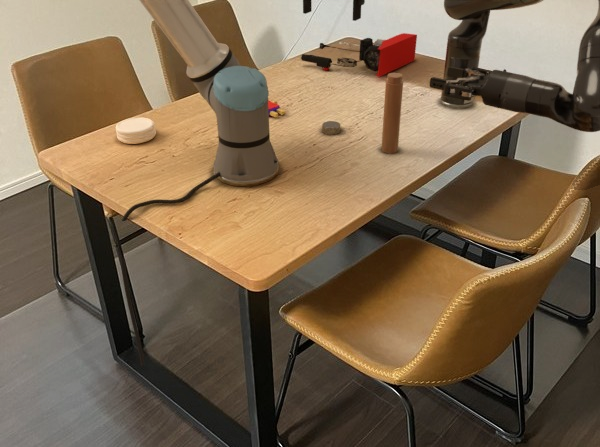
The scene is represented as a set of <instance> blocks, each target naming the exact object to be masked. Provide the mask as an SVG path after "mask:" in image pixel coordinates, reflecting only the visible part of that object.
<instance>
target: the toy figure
mask: <svg viewBox="0 0 600 447" xmlns="http://www.w3.org/2000/svg"><path fill="white" fill-rule="evenodd" d="M268 108H269V117H270V116H271V117H273V118H277V117H279V115H281V116H283V115H285V114H286V110H284V109H282V108H281V107H280V105H279V104H278V101H277V100H269V99H268Z"/></svg>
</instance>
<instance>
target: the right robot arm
mask: <svg viewBox="0 0 600 447" xmlns="http://www.w3.org/2000/svg"><path fill="white" fill-rule="evenodd" d="M542 2H544V0H443V8H444V11H445V13H446V14H447V16H448V17H449V18H451V19H453V20H455V21H461V22H460V23H459V24H458V25H457V26H456V27H454V28H453V29H452V30H450V31H449V33H448V35H447V42H446V49H445V50H446V51H445V59H444V68H443V77H442V78H441V77H436V76H431V77H430V79H429V87H430V88H431V89H436V90H439V91H440V90H441V94H440V98H439V99H440V100H439V101H440V104H441V105H443V106H444V107H448V108H451V109H467V108H470V107H473V105H474V102H475V97H480V98H481V99H482V100H481V101H482V103H483V105H485V106H488V107H492V108H496V109H500V110H504V111H509V112H514V113H523V114H528V115H532V116H537V117H543V118H547V119H550V120H552V121H554V122H556V123H558V124H561V125H563V126H566V127H568V128H571V129H573V130H576V131H578V132H579V131H580V132H585V133H597V132H600V0H597V3H598V4H597V5H598V6H597V7H598V8H597V12H596V13H597V14H596V15H595V17H594V19H593V20H592V22H591V23H590V24H589V26H588V27H587V28H586V30H585V31H584V33H583V35H582V37H581V39H580V42H579V46H578V53H577V63H576V77H575V81H574V86H573V90H572V93H571V92H568V91H567V90H566V89H565V87H564V86H563V85H562V84H559V83H557V82H554V81H548V80H544V79H538V78H534V77H531V76H529V75H526V74H525V75H524V74H520V73H514V72H509V71H507V70H506V69H505V68H504V69H503V70H500V69H493V70H492V69H491V70H490V69H487V68H482V67H479V64H480V59H481V50H482V43H483V39H484V37H485V36H486V34H487V29H488V26H489V25H488V24H489V19H490V14H491V11H503V10H512V9H513V10H514V9H520V8H525V7H529V6H533V5H538V4H539V3H542Z"/></svg>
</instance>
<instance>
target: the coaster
mask: <svg viewBox="0 0 600 447" xmlns="http://www.w3.org/2000/svg"><path fill="white" fill-rule="evenodd" d="M155 124H156V123H155V122H154V120H152V119H150V118H147V117H143V116H141V117H140V116H139V117H129V118H126V119H123V120H121V121H119V122H118V123H116V125H115V128H114V129H115V134H116V138H117V140H118V141H119V142H121V143H124V144H128V145H135V144H136V145H137V144H142V143H146V142H149V141H150V140H153V138H155V137H156V135H157V131H156V126H155Z"/></svg>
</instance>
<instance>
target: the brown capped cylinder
mask: <svg viewBox="0 0 600 447" xmlns="http://www.w3.org/2000/svg"><path fill="white" fill-rule="evenodd" d="M384 90H385V91H384V101H383V102H384V103H383V118H382V119H383V121H382V133H381V136H382V137H381V151H382V152H383V153H385V154H395V153H397V152H398V151H399V142H400V139H399V138H400V130H401V128H400V126H401V117H402V116H401V114H402V103H403V90H404V81H403V74H402V73H400V72H388V73H387V76H386V80H385V87H384Z"/></svg>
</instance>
